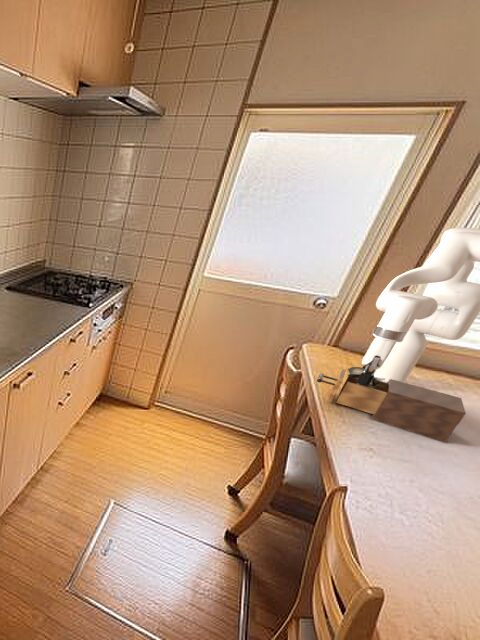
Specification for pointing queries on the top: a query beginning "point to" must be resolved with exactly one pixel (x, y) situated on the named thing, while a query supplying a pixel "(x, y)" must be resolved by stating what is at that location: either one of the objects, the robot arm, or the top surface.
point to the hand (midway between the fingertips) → (362, 380)
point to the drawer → (356, 393)
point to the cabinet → (420, 410)
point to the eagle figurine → (357, 372)
